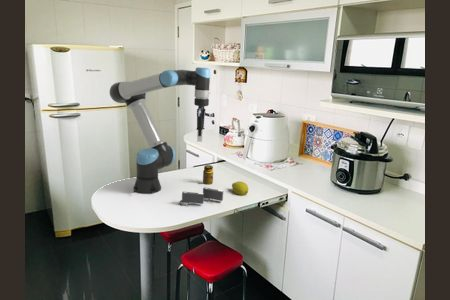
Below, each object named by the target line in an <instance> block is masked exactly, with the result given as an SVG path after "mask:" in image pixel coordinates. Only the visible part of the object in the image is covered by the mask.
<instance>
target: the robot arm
mask: <svg viewBox="0 0 450 300" xmlns="http://www.w3.org/2000/svg"><path fill="white" fill-rule="evenodd" d="M210 82H211V69H210V67H209V68H208V67H195V70H187V69H177V70H175V69H174V70H172V69H167V70H163V71H162V72H160V73H157V74H152V75H150V76H147V77H142V78H138V79H135V80H132V81H120V82H119V81H118V82H115V83H113V84H111V86H110V88H109V96H110V99H112V100H113V101H114V102H115V103H118V104H125V105H126V107H127V109H130V110H131V111H132V113H133V115H134V118H135V119H136V121H137V124H138V126H139V128H140V130H141V133H142V134H143V137H144V139H145V141H146V143H147V144H148V148H143V149H141V150H139V151H138V152H137V153H136V158H135V161H136V164H135V165H136V178H135V182H134V184H133V185H134V186H133V193H137V194H142V195H151V194H155V193H156V194H157V193H158V192H161V190H162V185H161V182H160V179H159V170H162V169H164V168H166V167H169V166H170V165H172V164H174V162H175V159H176V151H175V149H174V148H173V146H171V145H168V143H167V141H166V140H164V139H163V138H162V136H161V133H160V132H159V129H158V128H157V125H156V123H155V122H154V120H153V117H152V115H151V113H150V111H149V108H148V107H147V105H146V102H147V99H146V97H147V93H151V92H155V91H158V90H162V89H166V88H170V87H175V86H194V102H193V104H194V106H197V107H198V108H197V109H196V131H197V133H196V135H197V137H196V138H197V139H196V141H197V142H200V143H203V139H204V130H205V113H206V108H205V107H208V106H209V103H210V101H209V100H210V99H209V97H210V94H211V92H210V84H211V83H210Z"/></svg>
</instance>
